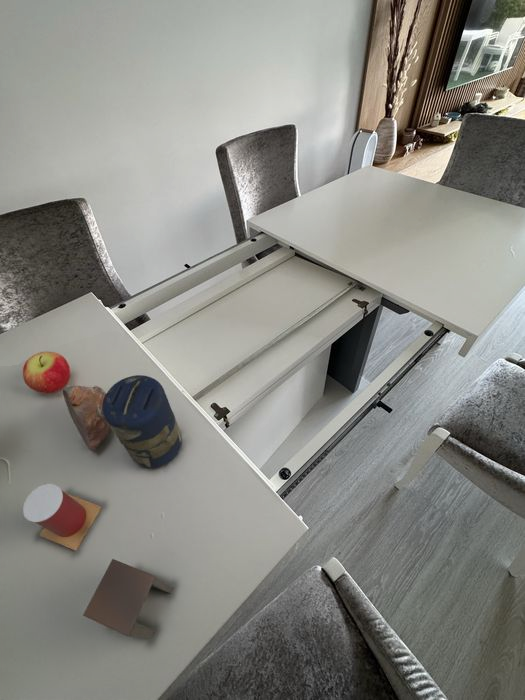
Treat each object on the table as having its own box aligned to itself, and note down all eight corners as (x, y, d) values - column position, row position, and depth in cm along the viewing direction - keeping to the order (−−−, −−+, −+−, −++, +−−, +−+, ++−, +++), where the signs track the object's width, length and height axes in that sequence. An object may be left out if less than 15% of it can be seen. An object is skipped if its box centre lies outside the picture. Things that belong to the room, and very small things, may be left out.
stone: (69, 413, 70) (46, 385, 62) (109, 391, 73) (91, 361, 66) (94, 459, 64) (70, 434, 56) (136, 433, 67) (119, 405, 60)
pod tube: (73, 542, 54) (45, 527, 47) (46, 531, 55) (14, 515, 48) (93, 508, 57) (69, 489, 50) (67, 499, 58) (40, 479, 52)
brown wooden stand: (152, 638, 47) (127, 636, 39) (114, 621, 48) (82, 615, 40) (173, 587, 51) (154, 575, 42) (137, 572, 52) (112, 558, 44)
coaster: (76, 551, 54) (74, 550, 54) (40, 536, 55) (38, 535, 55) (102, 507, 58) (100, 506, 58) (68, 494, 60) (66, 493, 59)
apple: (63, 403, 72) (39, 374, 64) (27, 397, 73) (-1, 367, 65) (84, 372, 77) (64, 342, 69) (50, 366, 78) (27, 336, 70)
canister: (121, 460, 64) (82, 409, 50) (150, 417, 69) (122, 361, 56) (166, 479, 61) (137, 431, 48) (192, 433, 67) (173, 378, 53)
